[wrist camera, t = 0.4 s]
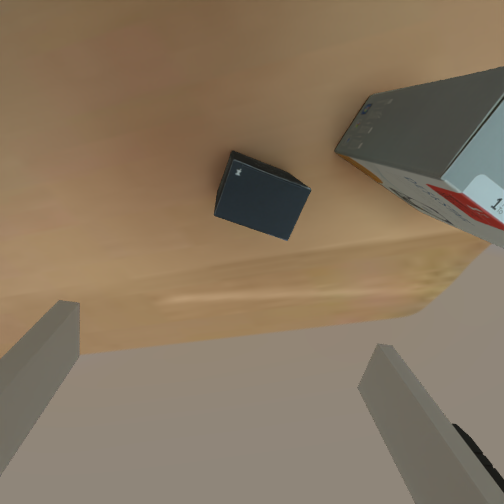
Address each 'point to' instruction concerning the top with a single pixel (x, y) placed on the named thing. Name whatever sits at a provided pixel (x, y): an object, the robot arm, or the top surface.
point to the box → (260, 196)
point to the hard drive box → (438, 149)
